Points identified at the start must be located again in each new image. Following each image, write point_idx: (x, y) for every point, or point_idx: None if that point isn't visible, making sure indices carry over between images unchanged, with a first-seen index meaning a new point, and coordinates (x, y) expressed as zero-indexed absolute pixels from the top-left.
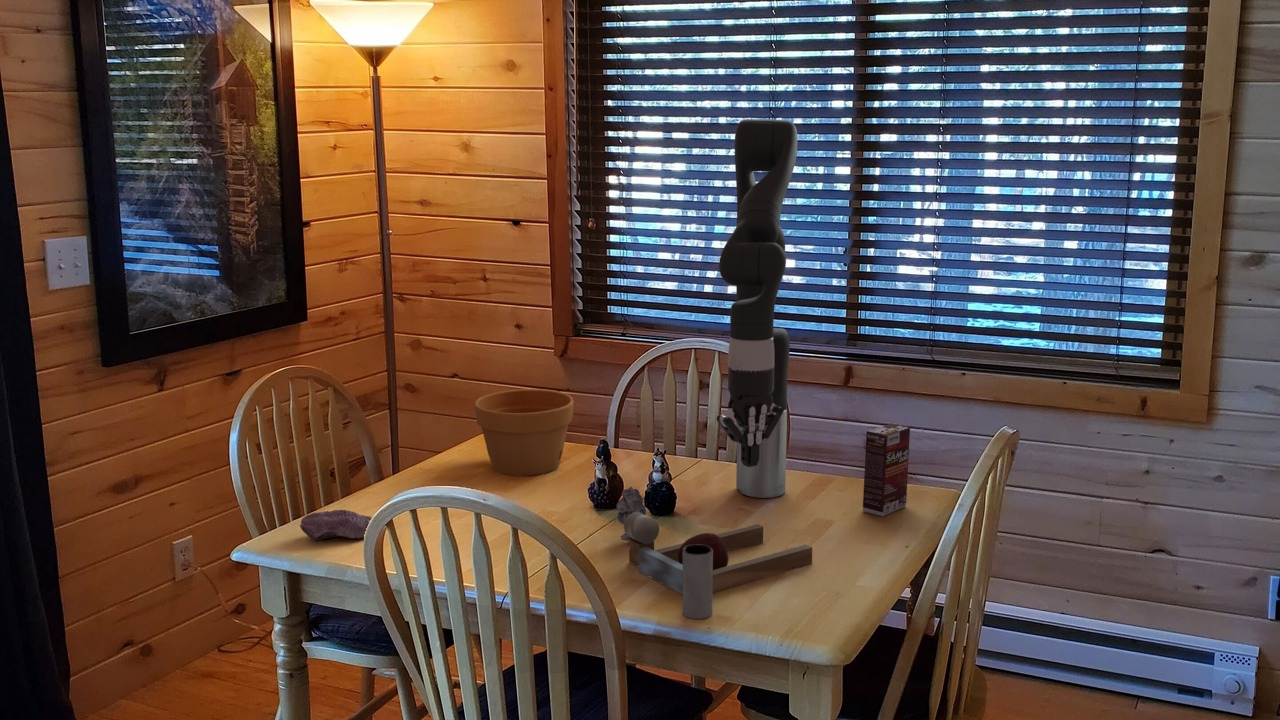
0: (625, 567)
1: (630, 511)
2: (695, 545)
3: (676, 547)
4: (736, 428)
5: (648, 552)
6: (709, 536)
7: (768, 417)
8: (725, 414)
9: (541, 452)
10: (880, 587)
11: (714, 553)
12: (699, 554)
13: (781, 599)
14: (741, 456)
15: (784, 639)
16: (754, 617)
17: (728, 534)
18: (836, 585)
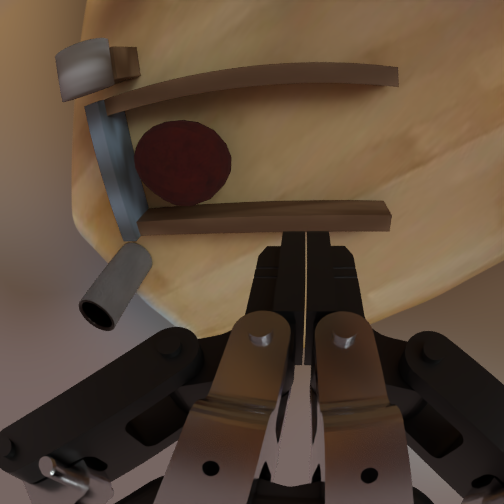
0: None
1: None
2: (95, 304)
3: (157, 95)
4: (130, 460)
5: (92, 129)
6: (171, 190)
7: (477, 474)
8: (38, 497)
9: None
10: (380, 312)
11: (179, 205)
12: (96, 327)
13: (250, 280)
14: (256, 272)
15: (197, 336)
16: (192, 295)
17: (299, 77)
18: None
